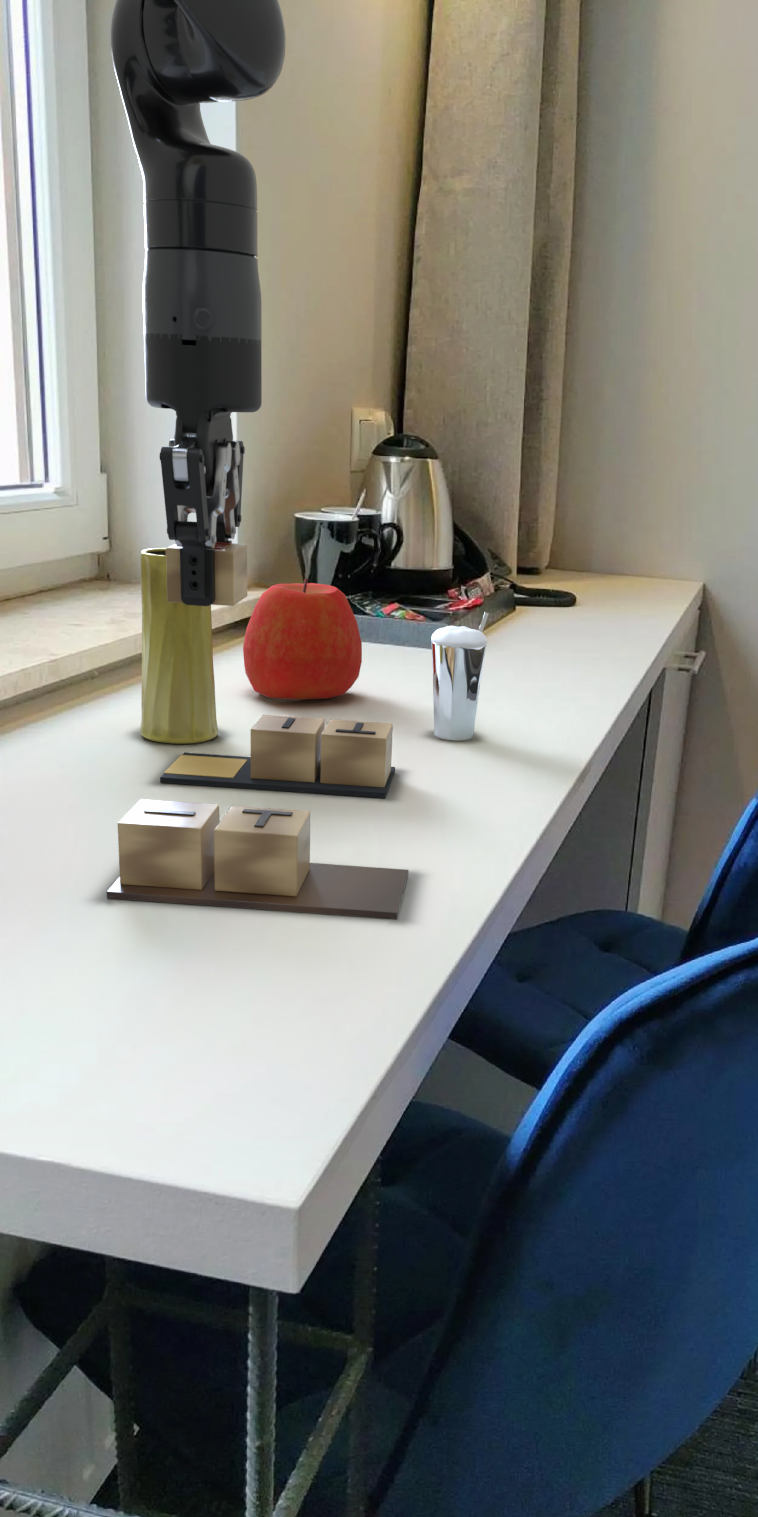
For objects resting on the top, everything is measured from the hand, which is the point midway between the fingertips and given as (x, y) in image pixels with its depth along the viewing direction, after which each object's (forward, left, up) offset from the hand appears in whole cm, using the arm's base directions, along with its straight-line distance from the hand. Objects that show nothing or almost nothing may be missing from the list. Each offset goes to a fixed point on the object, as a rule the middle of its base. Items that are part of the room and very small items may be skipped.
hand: (207, 597), depth 92 cm
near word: (+8, -22, -13) cm, 27 cm away
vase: (-5, +10, -13) cm, 17 cm away
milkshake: (+17, +16, -13) cm, 27 cm away
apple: (+2, +27, -13) cm, 30 cm away
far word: (+5, 0, -13) cm, 14 cm away
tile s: (0, 0, 0) cm, 0 cm away
